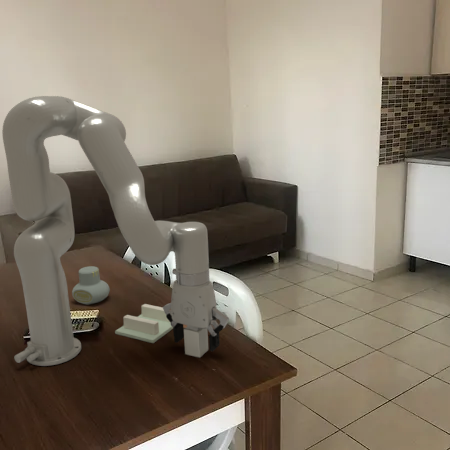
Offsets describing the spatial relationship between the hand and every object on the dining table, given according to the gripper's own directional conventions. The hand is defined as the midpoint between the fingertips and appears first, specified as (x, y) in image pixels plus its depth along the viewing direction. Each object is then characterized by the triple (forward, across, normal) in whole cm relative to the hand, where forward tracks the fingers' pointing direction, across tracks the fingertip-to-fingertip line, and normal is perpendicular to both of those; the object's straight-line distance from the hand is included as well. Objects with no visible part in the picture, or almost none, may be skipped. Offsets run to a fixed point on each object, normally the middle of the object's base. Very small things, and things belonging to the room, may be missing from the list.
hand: (196, 344), depth 116 cm
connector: (+2, 0, 0) cm, 2 cm away
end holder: (+2, -18, +6) cm, 19 cm away
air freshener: (+2, -45, +13) cm, 47 cm away
